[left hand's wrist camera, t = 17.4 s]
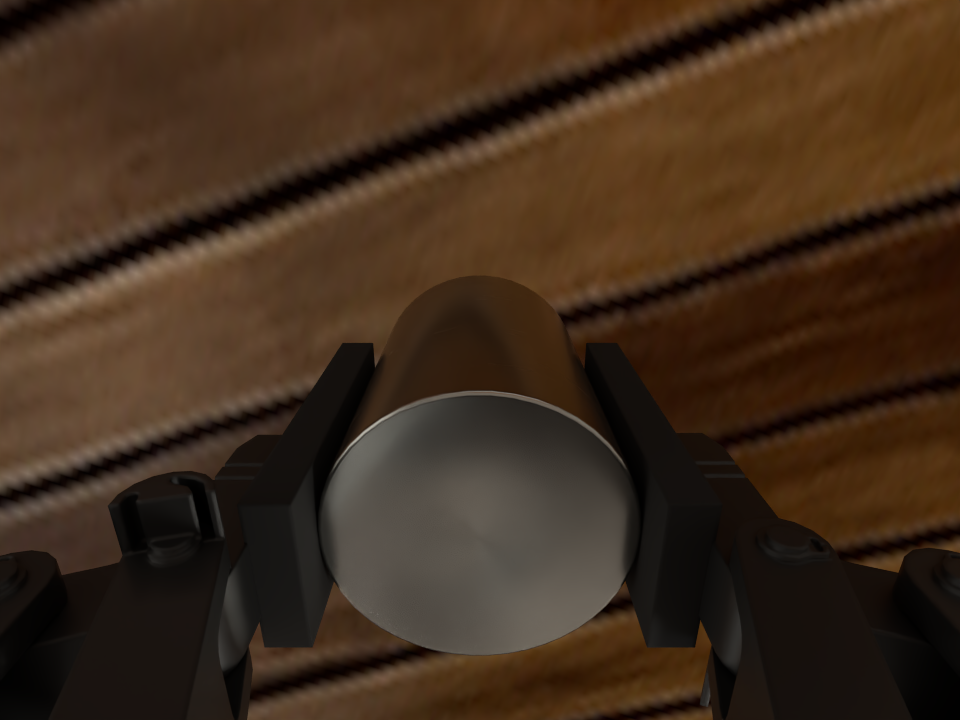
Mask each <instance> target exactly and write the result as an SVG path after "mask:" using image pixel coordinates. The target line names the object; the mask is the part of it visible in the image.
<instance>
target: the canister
mask: <svg viewBox="0 0 960 720" xmlns="http://www.w3.org/2000/svg"><path fill="white" fill-rule="evenodd" d="M641 529H642V516H641V505H640V500H639V495H638V491H637V488H636V485H635V483H634V480H633V477H632V475H631V472H630V470H629V468H628V466H627V463H626V461H625V459H624V457H623V454H622V452H621V450H620V448H619V446H618V443H617V441H616V439H615V437H614V434H613V432H612V430H611V428H610V425H609V423H608V421H607V419H606V417H605V414H604V412H603V410H602V408H601V405H600V403H599V401H598V399H597V396H596V394H595V392H594V390H593V388H592V385H591V383H590V381H589V379H588V376H587V374H586V372H585V370H584V367H583V365H582V363H581V361H580V359H579V356H578V354H577V352H576V350H575V347H574V345H573V343H572V341H571V339H570V336H569V334H568V332H567V330H566V328H565V326H564V324H563V322H562V320H561V318H560V317H559V316H558V314H557V313H556V312H555V310H554V309H553V308H552V307H551V306H550V305H549V304H548V303H547V302H546V301H545V300H544V299H543V298H542V297H540V296H539V295H538V294H536V293H535V292H534V291H532V290H530V289H528V288H527V287H525V286H523V285H521V284H518V283H516V282H513V281H511V280H507V279H503V278H499V277H492V276H467V277H460V278H456V279H452V280H449V281H446V282H443V283H441V284H438V285H436V286H434V287H432V288H431V289H429V290H427V291H425V292H424V293H423V294H421V295H420V296H419V297H417V298H416V299H415V300H414V301H413V302H412V303H411V304H410V305H409V306H408V307H407V308H406V309H405V310H404V312H403V313H402V314H401V316H400V317H399V319H398V320H397V322H396V324H395V326H394V328H393V330H392V332H391V334H390V337H389V339H388V341H387V343H386V346H385V348H384V350H383V352H382V354H381V357H380V359H379V361H378V363H377V366H376V368H375V370H374V372H373V375H372V377H371V379H370V381H369V384H368V386H367V388H366V390H365V393H364V395H363V397H362V399H361V401H360V404H359V406H358V408H357V410H356V413H355V415H354V417H353V419H352V422H351V424H350V426H349V428H348V431H347V433H346V435H345V437H344V440H343V442H342V444H341V446H340V449H339V451H338V453H337V455H336V457H335V460H334V462H333V464H332V466H331V469H330V471H329V473H328V475H327V478H326V481H325V484H324V486H323V489H322V492H321V497H320V502H319V507H318V534H319V542H320V547H321V551H322V554H323V557H324V561H325V564H326V566H327V568H328V570H329V572H330V574H331V576H332V579H333V580H334V582H335V583H336V585H337V586H338V588H339V589H340V591H341V592H342V594H343V595H344V596H345V597H346V598H347V599H348V601H349V602H350V603H351V604H352V605H353V606H354V607H355V608H356V609H357V610H358V611H359V612H360V613H362V614H363V615H364V616H365V617H366V618H367V619H369V620H370V621H371V622H373V623H374V624H376V625H377V626H379V627H380V628H381V629H383V630H385V631H387V632H389V633H391V634H392V635H394V636H396V637H398V638H400V639H403V640H405V641H408V642H410V643H412V644H415V645H418V646H421V647H425V648H428V649H432V650H436V651H441V652H446V653H451V654H462V655H497V654H507V653H513V652H518V651H523V650H528V649H531V648H534V647H538V646H541V645H544V644H547V643H549V642H552V641H554V640H556V639H559V638H561V637H563V636H565V635H567V634H569V633H570V632H572V631H574V630H576V629H578V628H579V627H581V626H582V625H583V624H585V623H586V622H588V621H589V620H591V619H592V618H593V617H594V616H595V615H597V614H598V613H599V612H600V611H601V610H602V609H603V608H604V607H605V606H606V605H607V604H608V603H609V602H610V601H611V600H612V598H613V597H614V596H615V595H616V594H617V593H618V591H619V590H620V588H621V587H622V585H623V583H624V582H625V580H626V579H627V577H628V575H629V573H630V571H631V568H632V566H633V564H634V562H635V558H636V555H637V552H638V548H639V544H640V537H641Z"/></svg>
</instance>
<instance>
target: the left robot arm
mask: <svg viewBox="0 0 960 720" xmlns="http://www.w3.org/2000/svg"><path fill="white" fill-rule="evenodd" d="M374 370H375V362H374V349H373V343H342V345H341V346H340V348H339V349H338V351H337V352H336V354H335V356H334V357H333V359H332V360H331V362H330V363H329V365H328V366H327V368H326V369H325V371H324V372H323V374H322V375H321V377H320V378H319V380H318V381H317V383H316V384H315V386H314V388H313V389H312V391H311V392H310V394H309V395H308V397H307V398H306V400H305V401H304V403H303V404H302V406H301V407H300V409H299V410H298V412H297V413H296V415H295V416H294V418H293V420H292V421H291V423H290V424H289V426H288V427H287V429H286V430H285V432H284V433H283V435H257V436H255V437H254V438H252V439H251V440H249V441H248V442H246V443H244V444H243V445H241V446H240V447H238V448H237V449H236V450H235V452H234V453H233V454H232V456H231V457H230V458H229V459H228V461H227V462H226V463H225V467H222V469H221V470H220V471H219V472H218V474H217V475H216V476H215V480H212V479H211V478H210V477H208V476H207V475H206V474H202V473H197V472H193V471H184V472H171V473H166V474H162V475H157V476H153V477H151V478H148V479H146V480H143V481H141V482H138V483H136V484H134V485H132V486H130V487H129V488H127V489H126V490H124V491H123V492H121V493H120V494H118V495H117V496H116V497H115V499H114V500H113V501H112V502H111V503H110V504H109V505H108V508H109V511H110V515H111V518H112V521H113V525H114V528H115V531H116V535H117V538H118V541H119V545H120V548H121V551H122V555H123V556H122V558H121V560H120V562H119V563H115V564H112V565H108V566H103V567H99V568H94V569H89V570H85V571H80V572H75V573H71V574H66V575H61V572H60V569H59V566H58V563H57V561H56V559H55V558H54V557H52V556H51V555H50V554H49V553H47V552H40V551H32V550H31V551H23V552H16V553H10V554H6V555H2V556H0V720H247V715H248V707H249V698H250V689H251V680H252V671H253V668H252V661H251V655H250V651H249V644H250V641H251V639H252V637H253V635H254V633H255V630H256V628H257V626H258V624H259V621H260V626H261V631H262V636H263V642H264V647H313V644H314V641H315V638H316V635H317V632H318V629H319V625H320V622H321V619H322V616H323V613H324V610H325V607H326V604H327V601H328V598H329V595H330V592H331V589H332V586H333V582H334V580H333V579H332V576H331V574H330V572H329V570H328V568H327V566H326V564H325V561H324V557H323V554H322V551H321V547H320V542H319V534H318V507H319V502H320V497H321V492H322V489H323V486H324V484H325V481H326V478H327V475H328V473H329V471H330V469H331V466H332V464H333V462H334V460H335V457H336V455H337V453H338V451H339V449H340V446H341V444H342V442H343V440H344V437H345V435H346V433H347V431H348V428H349V426H350V424H351V422H352V419H353V417H354V415H355V413H356V410H357V408H358V406H359V404H360V401H361V399H362V397H363V395H364V393H365V390H366V388H367V386H368V384H369V381H370V379H371V377H372V375H373V372H374ZM584 370H585V372H586V374H587V376H588V379H589V381H590V383H591V385H592V388H593V390H594V392H595V394H596V396H597V399H598V401H599V403H600V405H601V408H602V410H603V412H604V414H605V417H606V419H607V421H608V423H609V425H610V428H611V430H612V432H613V434H614V437H615V439H616V441H617V443H618V446H619V448H620V450H621V452H622V454H623V457H624V459H625V461H626V463H627V466H628V468H629V470H630V472H631V475H632V477H633V480H634V483H635V485H636V488H637V491H638V495H639V500H640V505H641V516H642V529H641V537H640V544H639V548H638V552H637V555H636V558H635V562H634V564H633V566H632V568H631V571H630V573H629V575H628V577H627V579H626V580H625V581H626V584H627V587H628V590H629V593H630V596H631V599H632V602H633V605H634V608H635V611H636V615H637V618H638V621H639V624H640V627H641V630H642V633H643V636H644V639H645V642H646V645H647V647H695V645H696V639H697V634H698V629H699V624H700V620H701V622H702V624H703V626H704V628H705V631H706V633H707V635H708V637H709V639H710V642H711V644H712V646H711V651H710V655H709V660H708V665H707V670H706V674H705V679H704V684H703V689H702V694H701V701H700V705H703V706H707V707H708V703H709V698H710V696H711V705H712V714H713V720H960V553H957V552H953V551H949V550H942V549H934V548H924V549H916V550H912V551H911V552H910V553H908V554H907V555H906V556H905V557H904V559H903V562H902V565H901V567H900V570H899V573H896V572H892V571H887V570H882V569H878V568H873V567H868V566H863V565H859V564H854V563H850V562H846V561H843V560H840V559H839V557H838V555H837V553H836V552H835V551H834V549H833V548H832V547H831V545H830V544H829V543H828V542H827V541H826V540H825V539H823V538H822V537H821V536H819V535H818V534H817V533H815V532H814V531H812V530H810V529H808V528H806V527H804V526H801V525H799V524H797V523H795V522H791V521H787V520H783V519H780V518H778V517H777V515H776V514H775V513H774V512H773V510H772V509H771V508H770V506H769V505H768V504H767V503H766V501H765V500H764V499H763V498H762V496H761V495H760V494H759V492H758V491H757V490H756V489H755V487H754V486H753V485H752V483H751V482H750V481H749V480H748V478H745V474H744V473H743V472H742V471H741V469H740V468H739V467H738V465H735V462H734V460H733V459H732V458H731V456H730V455H729V454H728V453H727V451H726V450H725V449H724V447H723V446H721V445H720V444H718V443H717V442H715V441H714V440H712V439H710V438H709V437H707V436H706V435H704V434H703V433H676V432H675V431H674V429H673V428H672V426H671V425H670V423H669V422H668V420H667V419H666V417H665V416H664V414H663V413H662V411H661V410H660V408H659V407H658V405H657V404H656V402H655V400H654V399H653V397H652V396H651V394H650V393H649V391H648V390H647V388H646V387H645V385H644V384H643V382H642V381H641V379H640V378H639V376H638V375H637V373H636V372H635V370H634V368H633V367H632V365H631V364H630V362H629V361H628V359H627V358H626V356H625V355H624V353H623V352H622V350H621V349H620V347H619V346H618V344H617V343H586V356H585V369H584Z"/></svg>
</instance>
